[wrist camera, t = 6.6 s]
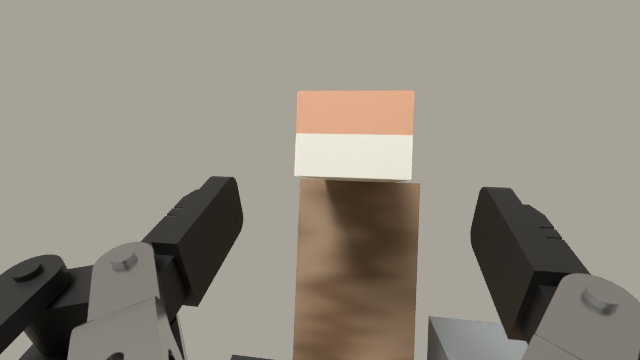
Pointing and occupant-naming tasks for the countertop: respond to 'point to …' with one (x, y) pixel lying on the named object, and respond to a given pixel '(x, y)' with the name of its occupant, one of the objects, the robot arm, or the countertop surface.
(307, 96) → the bar
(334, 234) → the walnut stand
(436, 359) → the grey stand
